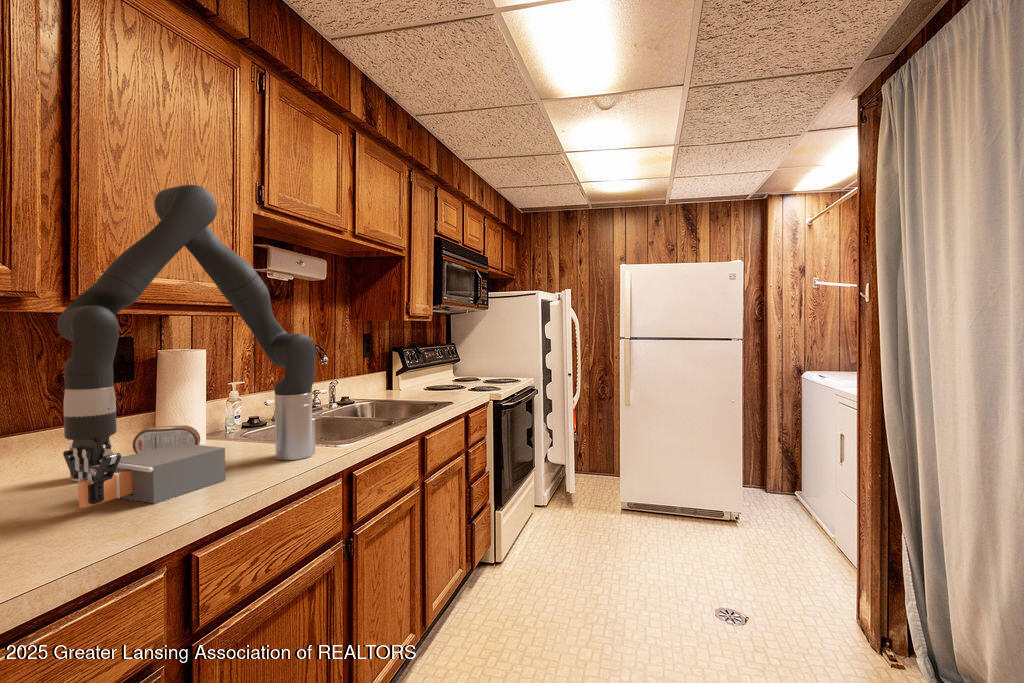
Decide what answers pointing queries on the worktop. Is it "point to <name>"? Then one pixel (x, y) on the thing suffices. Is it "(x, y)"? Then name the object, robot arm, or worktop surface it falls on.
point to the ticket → (109, 488)
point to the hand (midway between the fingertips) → (93, 501)
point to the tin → (165, 437)
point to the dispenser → (173, 471)
